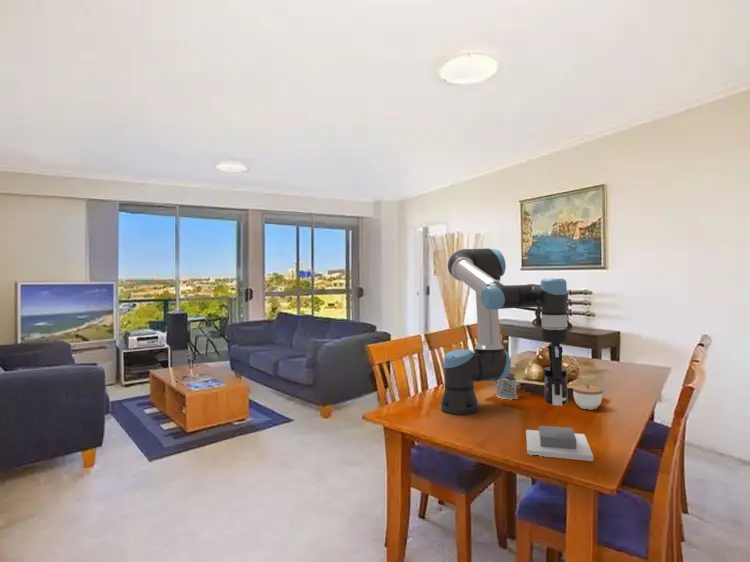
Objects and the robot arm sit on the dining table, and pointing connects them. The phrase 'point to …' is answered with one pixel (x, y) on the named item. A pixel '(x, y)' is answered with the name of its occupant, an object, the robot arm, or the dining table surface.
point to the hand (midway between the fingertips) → (556, 401)
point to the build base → (559, 451)
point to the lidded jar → (587, 396)
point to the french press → (507, 386)
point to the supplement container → (548, 386)
